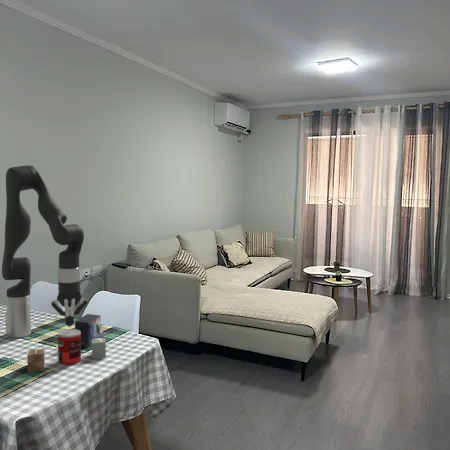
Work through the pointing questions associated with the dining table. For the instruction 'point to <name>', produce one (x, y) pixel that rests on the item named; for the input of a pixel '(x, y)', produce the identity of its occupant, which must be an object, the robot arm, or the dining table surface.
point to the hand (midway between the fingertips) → (69, 325)
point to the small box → (88, 328)
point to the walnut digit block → (36, 360)
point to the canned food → (69, 346)
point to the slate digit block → (99, 348)
